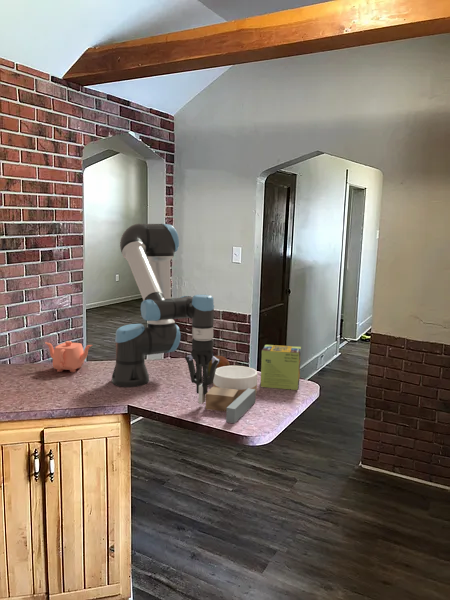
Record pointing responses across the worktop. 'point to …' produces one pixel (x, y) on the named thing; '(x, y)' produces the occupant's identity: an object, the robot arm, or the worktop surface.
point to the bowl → (235, 378)
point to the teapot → (68, 355)
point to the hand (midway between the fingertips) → (201, 402)
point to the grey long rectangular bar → (240, 405)
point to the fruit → (222, 363)
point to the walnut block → (220, 398)
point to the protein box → (280, 367)
